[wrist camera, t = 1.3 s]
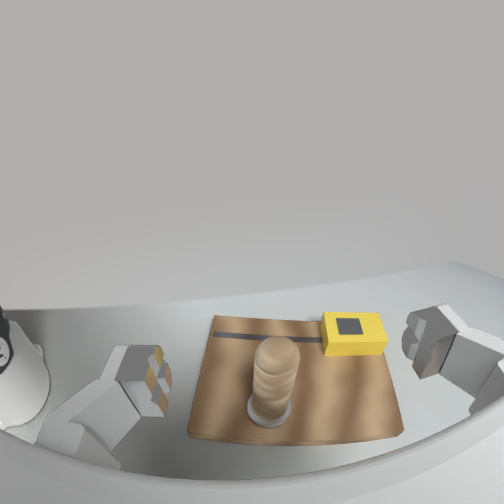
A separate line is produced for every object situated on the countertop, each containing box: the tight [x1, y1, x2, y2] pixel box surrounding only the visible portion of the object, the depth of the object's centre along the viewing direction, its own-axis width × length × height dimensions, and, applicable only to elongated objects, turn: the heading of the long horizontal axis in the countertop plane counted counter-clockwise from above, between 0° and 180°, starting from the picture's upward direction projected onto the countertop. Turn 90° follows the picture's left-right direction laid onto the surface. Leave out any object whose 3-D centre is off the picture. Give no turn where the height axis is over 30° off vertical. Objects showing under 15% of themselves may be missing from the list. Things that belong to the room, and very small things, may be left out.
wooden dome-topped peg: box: [247, 336, 300, 429], centre depth 26 cm, size 5×5×13 cm
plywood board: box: [187, 315, 404, 446], centre depth 35 cm, size 26×20×2 cm
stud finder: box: [320, 312, 388, 356], centre depth 38 cm, size 9×6×3 cm, turn 86°
